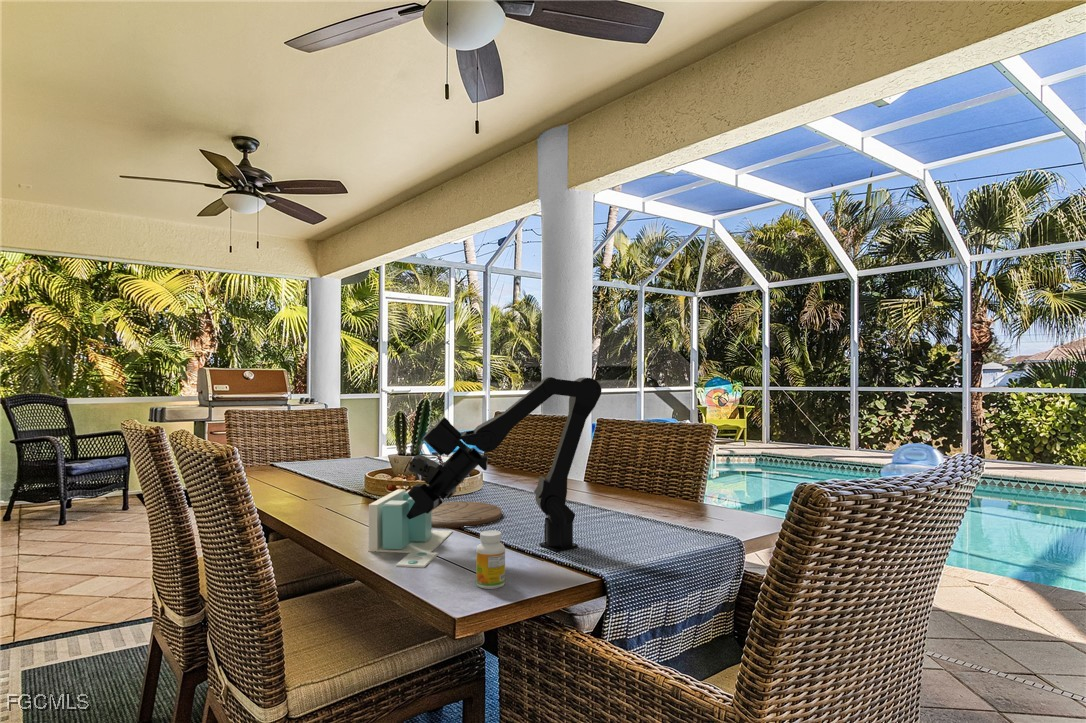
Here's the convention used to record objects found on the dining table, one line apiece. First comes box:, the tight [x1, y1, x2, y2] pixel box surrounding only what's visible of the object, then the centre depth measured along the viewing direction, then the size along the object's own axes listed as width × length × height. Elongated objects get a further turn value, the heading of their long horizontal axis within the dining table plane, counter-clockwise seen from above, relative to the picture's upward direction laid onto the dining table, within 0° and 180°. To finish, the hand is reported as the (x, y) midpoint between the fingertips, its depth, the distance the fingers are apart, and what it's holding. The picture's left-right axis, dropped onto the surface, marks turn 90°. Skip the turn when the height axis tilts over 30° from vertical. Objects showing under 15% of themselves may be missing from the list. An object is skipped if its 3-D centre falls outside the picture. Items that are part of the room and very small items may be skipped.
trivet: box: [431, 501, 502, 529], centre depth 175 cm, size 25×25×2 cm
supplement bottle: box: [475, 529, 506, 590], centre depth 120 cm, size 5×5×10 cm
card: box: [395, 552, 439, 568], centre depth 135 cm, size 6×9×1 cm, turn 172°
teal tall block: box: [383, 500, 409, 549], centre depth 144 cm, size 4×4×10 cm
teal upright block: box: [407, 497, 432, 542], centre depth 150 cm, size 4×4×10 cm
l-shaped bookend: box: [368, 488, 454, 554], centre depth 150 cm, size 14×18×10 cm
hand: (408, 517), depth 144 cm, fingers closed
